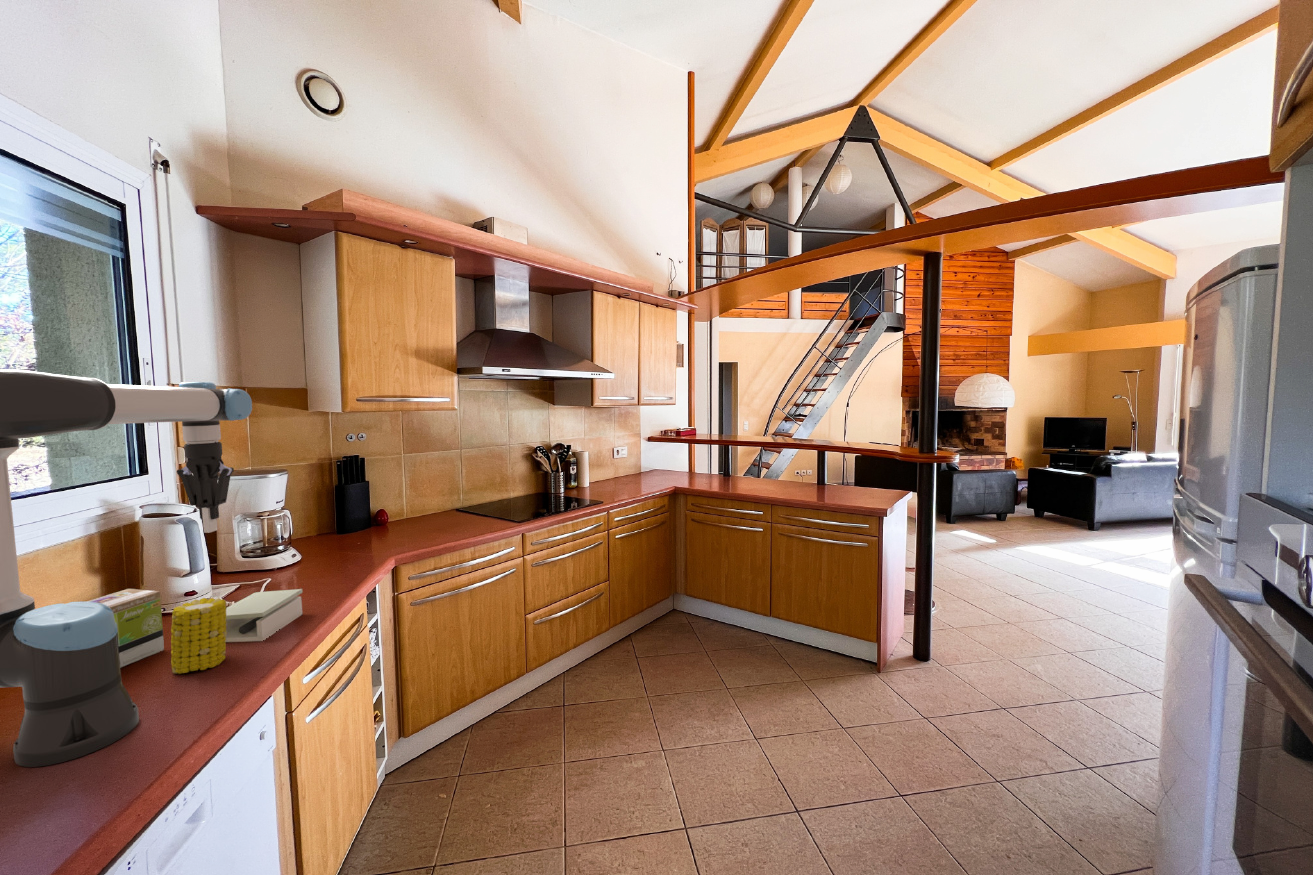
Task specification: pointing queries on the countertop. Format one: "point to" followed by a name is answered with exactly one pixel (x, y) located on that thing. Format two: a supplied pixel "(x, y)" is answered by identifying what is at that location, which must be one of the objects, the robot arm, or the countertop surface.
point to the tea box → (136, 623)
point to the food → (198, 635)
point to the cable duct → (264, 623)
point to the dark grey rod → (249, 625)
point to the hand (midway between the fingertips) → (210, 531)
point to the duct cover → (260, 603)
